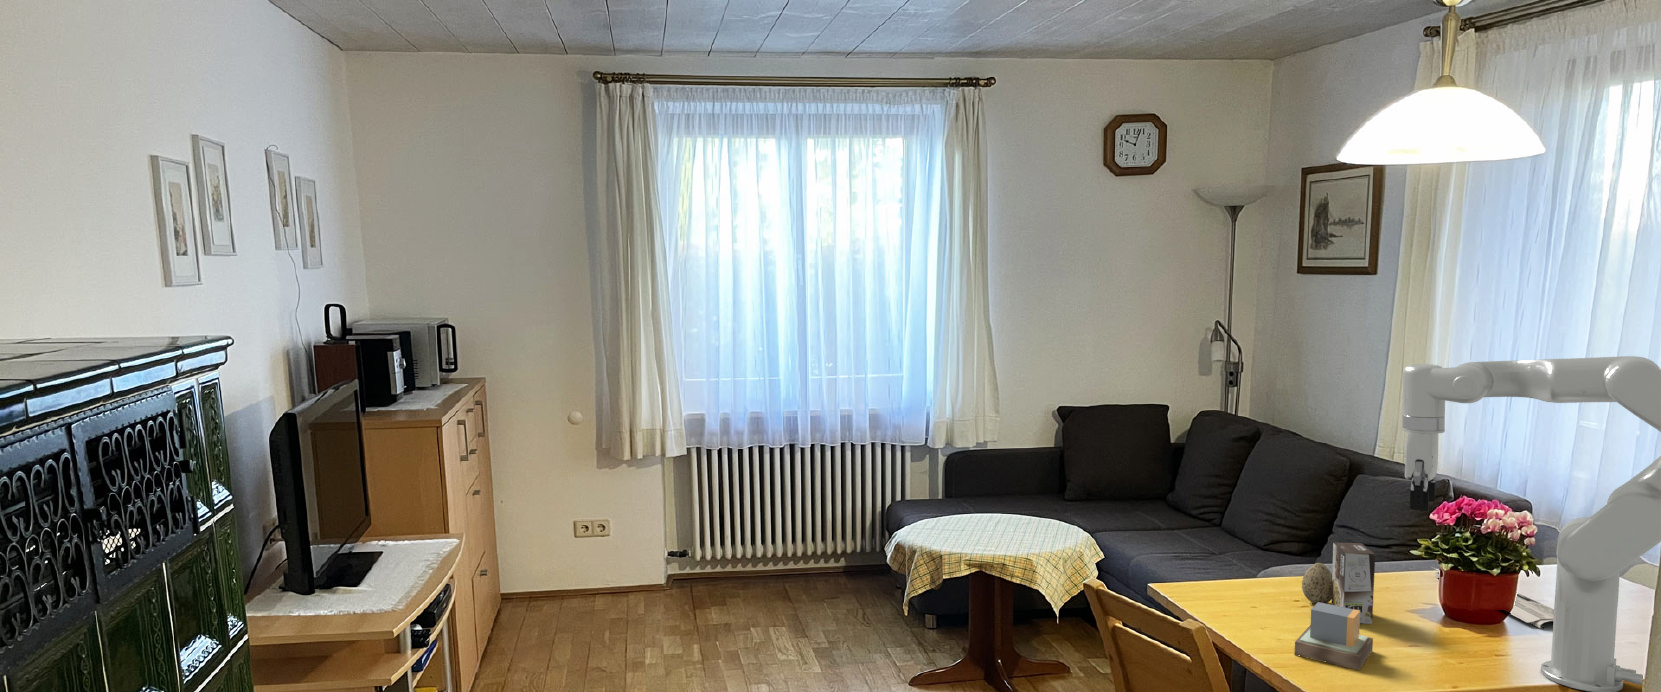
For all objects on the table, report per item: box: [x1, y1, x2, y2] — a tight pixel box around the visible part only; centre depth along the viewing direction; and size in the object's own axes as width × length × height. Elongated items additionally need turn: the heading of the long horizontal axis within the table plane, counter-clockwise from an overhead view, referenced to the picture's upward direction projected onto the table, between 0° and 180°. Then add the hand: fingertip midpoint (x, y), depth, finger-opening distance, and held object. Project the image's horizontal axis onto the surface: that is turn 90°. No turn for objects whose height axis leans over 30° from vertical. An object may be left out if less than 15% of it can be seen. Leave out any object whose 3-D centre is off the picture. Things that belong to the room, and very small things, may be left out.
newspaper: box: [1429, 565, 1554, 629], centre depth 230 cm, size 35×12×4 cm, turn 4°
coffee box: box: [1331, 542, 1376, 625], centre depth 221 cm, size 9×6×16 cm
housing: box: [1309, 602, 1361, 647], centre depth 201 cm, size 6×8×6 cm
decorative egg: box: [1301, 562, 1332, 605], centre depth 229 cm, size 7×7×10 cm
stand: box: [1294, 624, 1374, 671], centre depth 201 cm, size 12×12×3 cm
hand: (1422, 505), depth 202 cm, fingers open, 9 cm apart
